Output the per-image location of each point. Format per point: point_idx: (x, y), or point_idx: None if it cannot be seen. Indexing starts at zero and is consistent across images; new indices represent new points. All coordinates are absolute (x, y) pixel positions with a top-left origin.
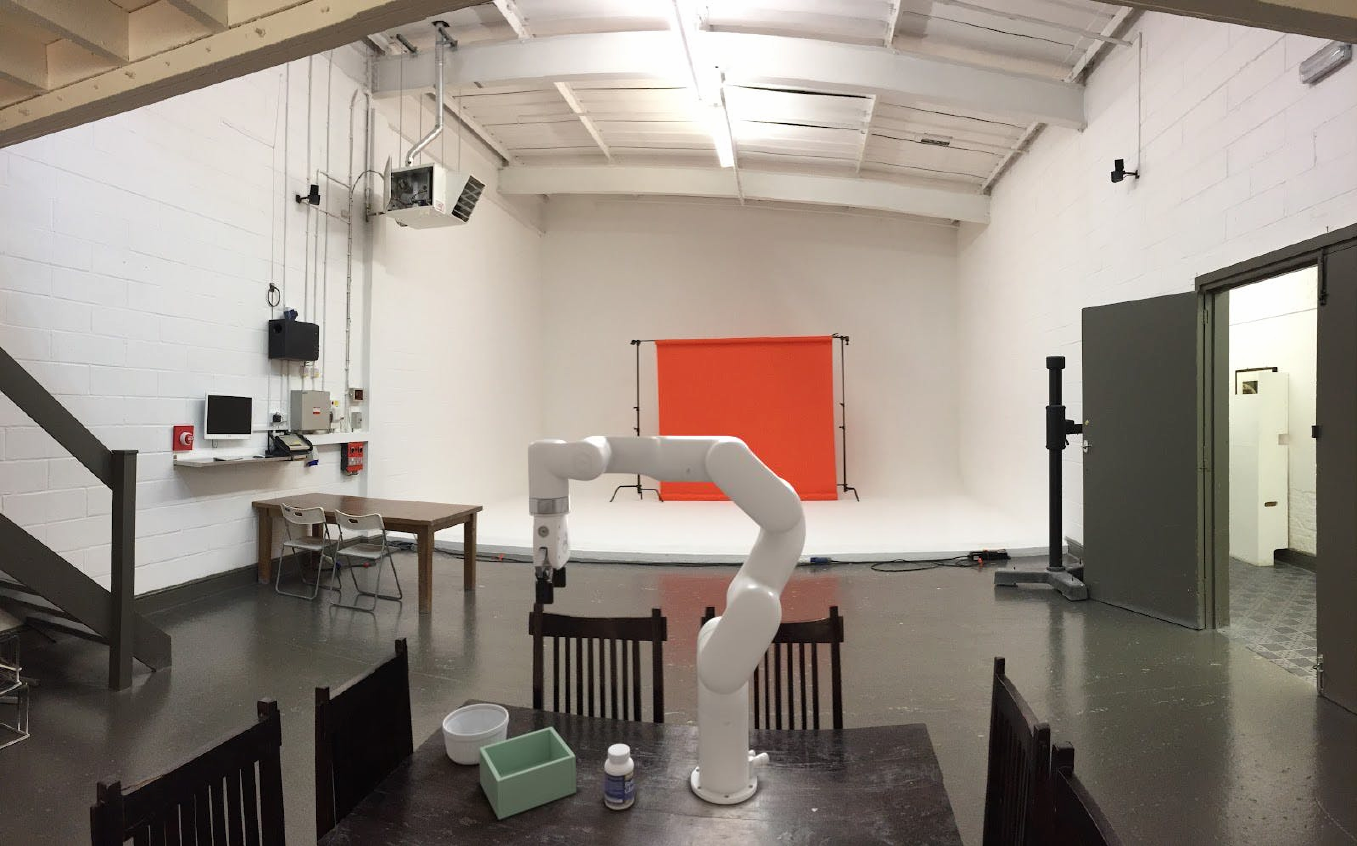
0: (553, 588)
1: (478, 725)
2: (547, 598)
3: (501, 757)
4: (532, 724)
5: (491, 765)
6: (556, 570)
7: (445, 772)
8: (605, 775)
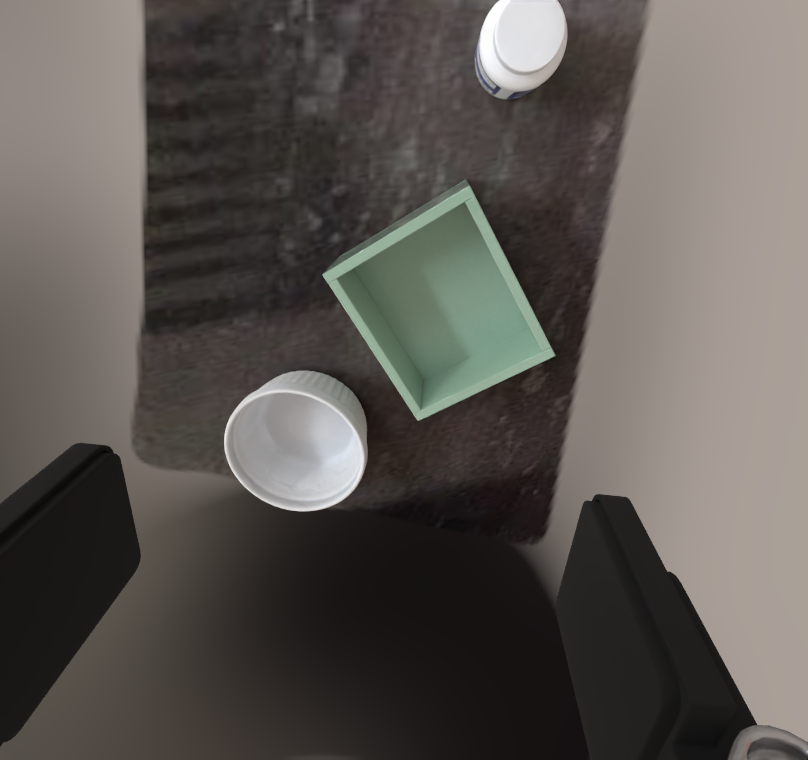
0: (653, 610)
1: (257, 437)
2: (674, 579)
3: (404, 366)
4: (199, 328)
5: (491, 381)
6: (3, 664)
7: (385, 451)
8: (536, 87)
